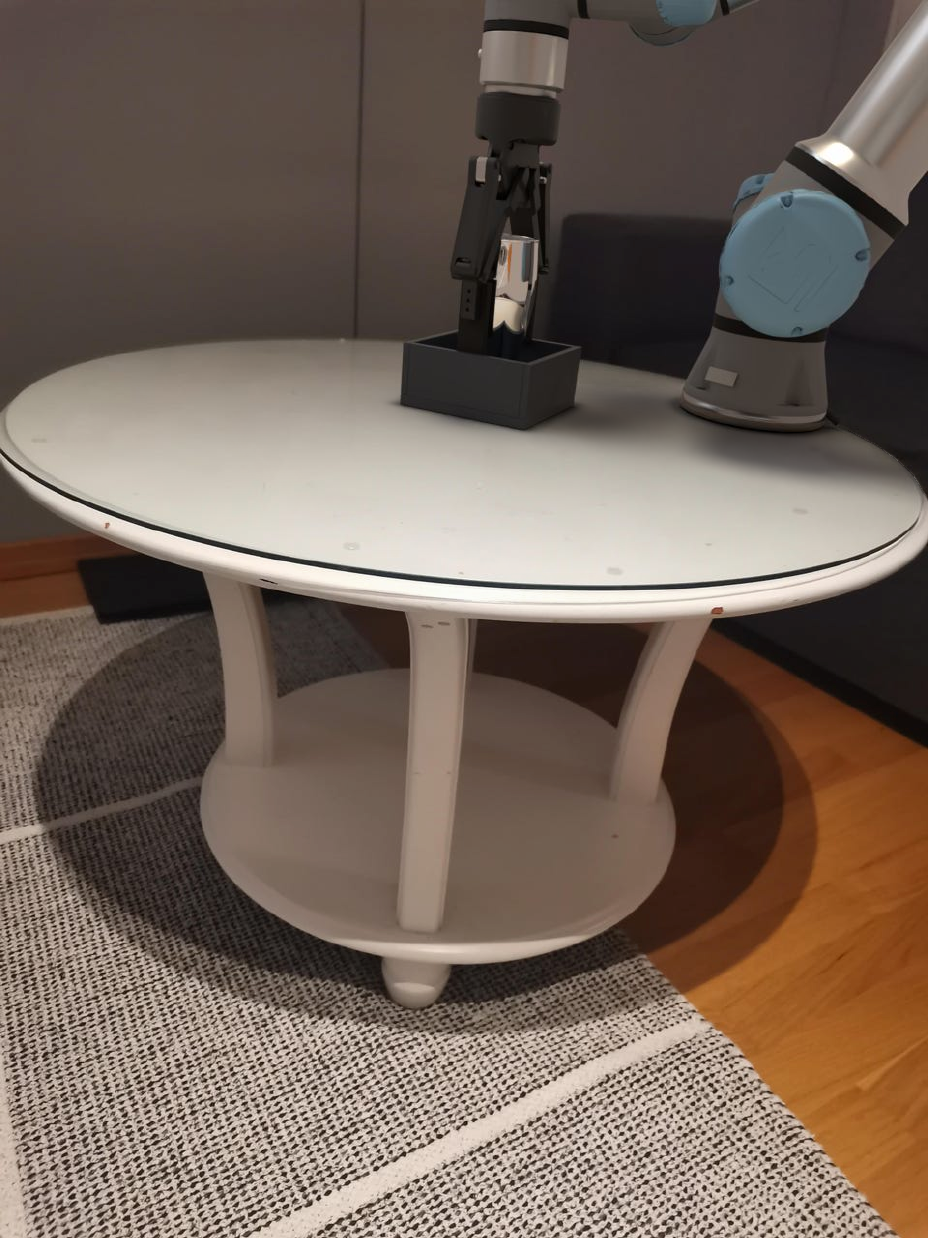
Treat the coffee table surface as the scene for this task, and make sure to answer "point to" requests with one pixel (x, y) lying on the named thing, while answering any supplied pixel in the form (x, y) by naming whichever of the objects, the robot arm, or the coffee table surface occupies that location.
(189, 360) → the coffee table surface
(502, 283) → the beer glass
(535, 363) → the bin
